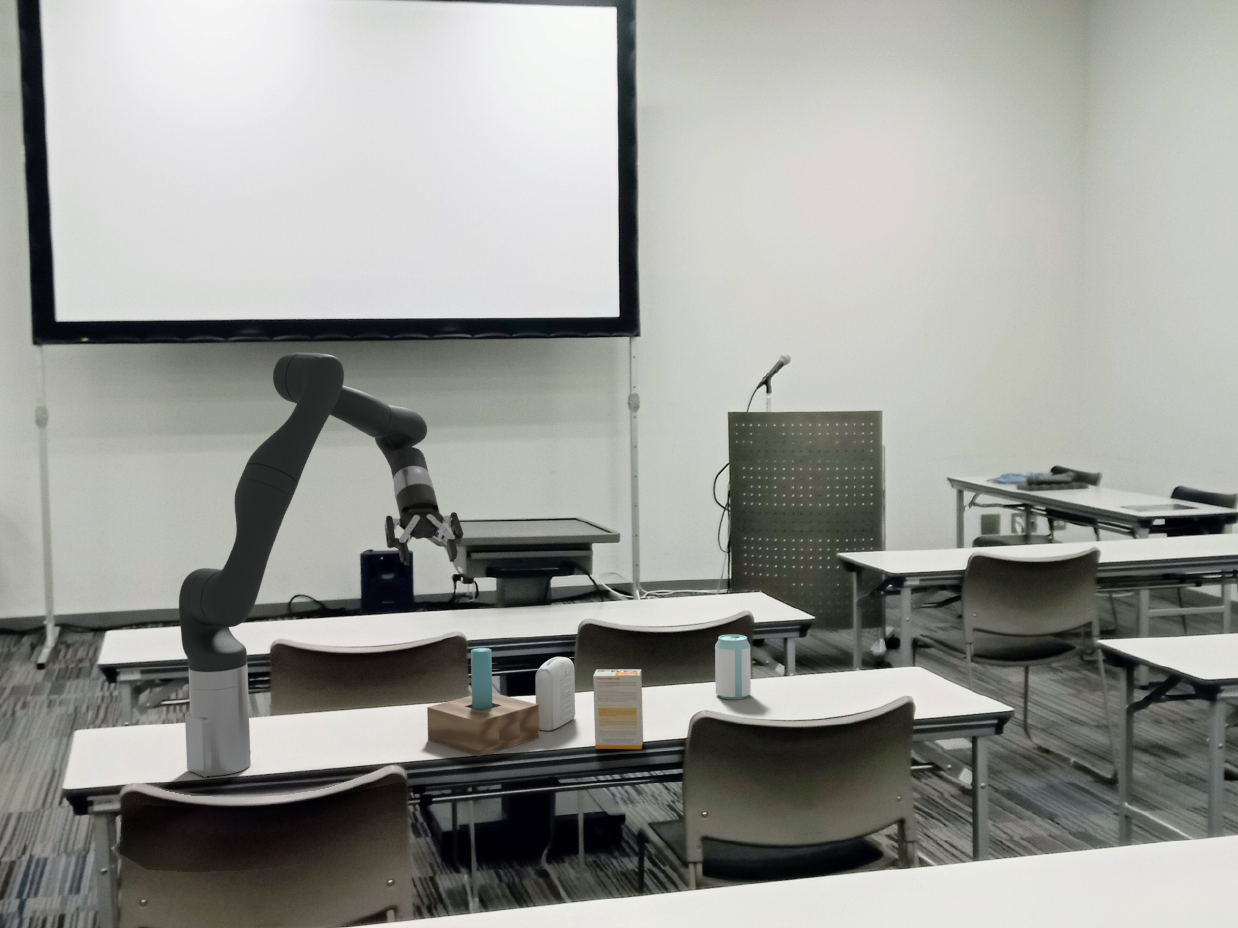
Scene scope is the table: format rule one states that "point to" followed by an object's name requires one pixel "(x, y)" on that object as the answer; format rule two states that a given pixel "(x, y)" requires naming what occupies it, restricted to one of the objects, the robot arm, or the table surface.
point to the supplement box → (618, 708)
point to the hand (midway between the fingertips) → (430, 560)
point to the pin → (481, 679)
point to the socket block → (483, 724)
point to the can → (732, 667)
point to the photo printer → (555, 693)
